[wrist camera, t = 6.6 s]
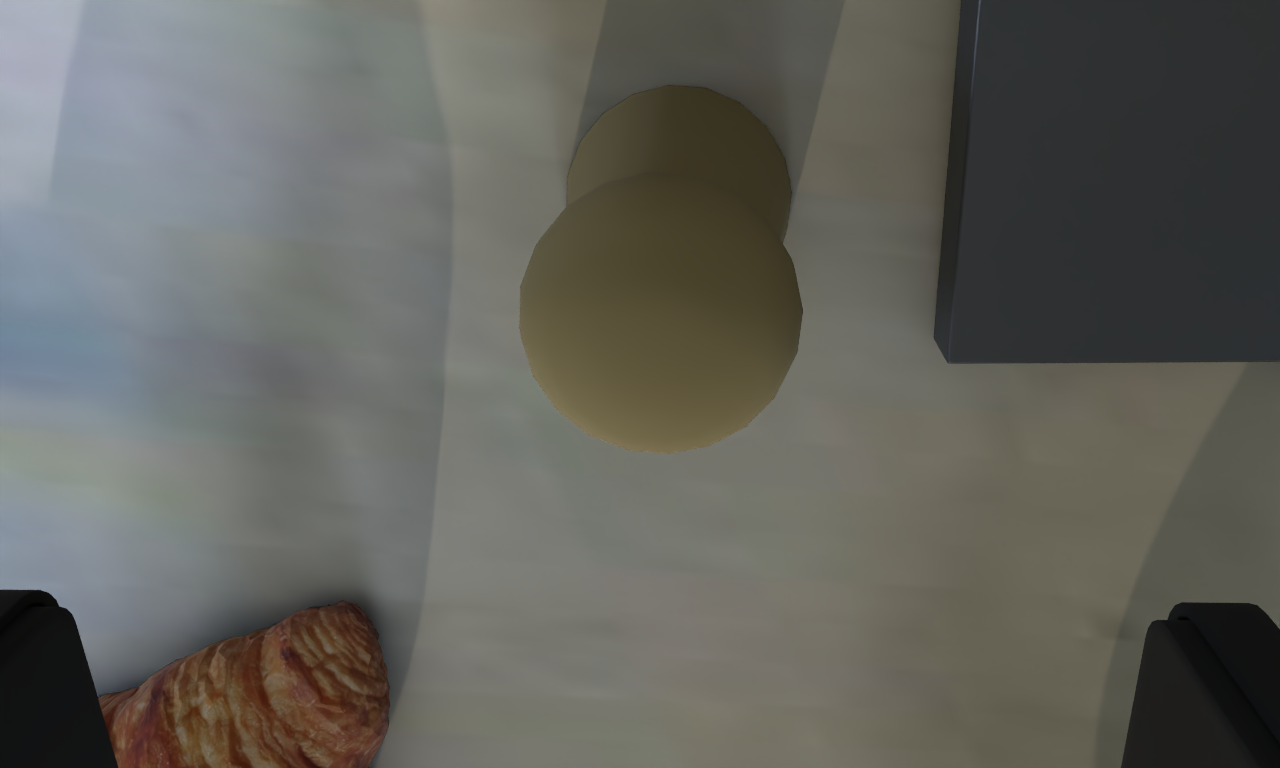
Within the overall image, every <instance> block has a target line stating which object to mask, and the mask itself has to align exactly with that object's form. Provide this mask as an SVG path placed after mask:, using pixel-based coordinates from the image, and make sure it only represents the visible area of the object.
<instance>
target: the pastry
mask: <svg viewBox="0 0 1280 768" xmlns="http://www.w3.org/2000/svg"><path fill="white" fill-rule="evenodd" d="M389 689H390V686H389V683H388V680H387V667H386V665H385V663H384V660H383V655H382V651H381V647H380V645H379V642H378V633H377V631H376V629H374V628H373V625H372V622H371V621H370V620H369V618H368V617H367V615H366V614H365V612H363V611H362V610H361V609H360V608H359V607H358V605H357V604H354V603H350V602H346V601H340V602H338V603H336V604H334V605H332V606H330V605H328V606H319V607H310V608H308V609H305V610H300V611H297V612H295V613H294V614H292V615H290V616H288V617H287V618H285V619H284V620H282V621H281V622H280V623H278V624H274V625H273V626H272V627H268V628H264V629H260V630H256V631H254V632H252V633H250V634H248V635H246V636H244V637H231V638H230V639H228V640H222V641H219V642H217V643H214V644H211V645H209V646H208V647H206V648H204V649H202V650H200V651H198V652H196V653H194V654H192V655H189V656H186V657H184V658H182V659H178V660H175V661H174V662H172V663H170V664H169V665H167V666H165V667H164V668H162V669H160V670H159V671H157V672H156V673H154V674H153V675H152V676H150V677H149V678H148V679H147V680H146V681H145V682H144V683H143V684H142V685H141V686H139V687H136V688H132V689H128V690H125V691H123V692H117V693H112V694H106V695H104V696H102V697H100V698H98V700H99V703H100V707H101V710H102V713H103V717H104V720H105V724H106V727H107V730H108V734H109V737H110V741H111V744H112V747H113V751H114V754H115V758H116V761H117V764H118V768H369V764H370V762H371V760H372V759H373V757H374V755H375V753H376V751H377V750H378V748H379V747H380V745H381V743H382V741H383V739H384V737H385V735H386V732H387V730H388V726H389V719H388V713H389V707H390V702H389Z"/></svg>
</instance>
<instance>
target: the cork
mask: <svg viewBox="0 0 1280 768" xmlns="http://www.w3.org/2000/svg"><path fill="white" fill-rule="evenodd" d="M791 195H792V192H791V187H790V182H789V177H788V172H787V167H786V162H785V158H784V156H783V154H782V153H781V151H780V149H779V147H778V146H777V144H776V142H775V140H774V139H773V137H772V135H771V133H770V131H769V130H768V128H767V127H766V126H765V125H764V124H763V123H762V122H761V121H760V120H759V119H757V118H756V117H755V116H754V115H753V114H752V113H751V112H750V111H748V110H747V109H746V108H745V107H744V106H743V105H742V104H741V103H739V102H737V101H735V100H732V99H730V98H728V97H725V96H723V95H721V94H718V93H716V92H714V91H711V90H709V89H707V88H698V87H685V86H672V85H668V86H664V87H660V88H656V89H652V90H648V91H644V92H640V93H636V94H633V95H631V96H630V97H628V98H627V99H625V100H623V101H622V102H620V103H619V104H617V105H616V106H614V107H613V108H611V109H609V110H608V111H606V112H605V113H603V114H602V115H601V117H600V118H599V119H598V120H597V121H596V123H595V124H594V125H593V126H592V128H591V129H590V130H589V131H588V133H587V134H586V135H585V136H584V138H583V139H582V140H581V141H580V143H579V146H578V149H577V152H576V154H575V157H574V160H573V162H572V165H571V168H570V170H569V173H568V181H567V207H566V208H565V209H564V211H563V212H562V213H561V214H560V215H559V217H558V218H557V219H556V220H555V222H554V223H553V224H552V225H551V226H550V228H549V229H548V230H547V231H546V232H545V234H544V235H543V236H542V237H541V239H540V240H539V242H538V243H537V244H536V246H535V248H534V251H533V254H532V256H531V259H530V262H529V265H528V267H527V270H526V273H525V275H524V278H523V281H522V283H521V286H520V334H521V339H522V342H523V345H524V348H525V351H526V355H527V358H528V361H529V364H530V367H531V371H532V374H533V377H534V378H535V380H536V381H537V383H538V384H539V385H540V387H541V388H542V390H543V391H544V392H545V394H546V395H547V397H548V398H549V400H550V401H551V402H552V404H553V405H554V407H555V408H556V410H558V411H559V412H560V413H561V414H563V415H564V416H565V417H567V418H568V419H569V420H570V421H572V422H573V423H574V424H576V425H577V426H578V427H579V428H581V429H582V430H583V431H585V432H586V433H587V434H588V435H590V436H593V437H595V438H598V439H601V440H603V441H606V442H608V443H611V444H613V445H616V446H619V447H621V448H624V449H626V450H633V451H644V452H654V453H665V454H670V453H675V452H681V451H686V450H691V449H696V448H701V447H706V446H710V445H712V444H714V443H716V442H718V441H720V440H721V439H723V438H725V437H727V436H729V435H731V434H733V433H735V432H737V431H739V430H741V429H742V428H744V427H746V426H747V425H748V424H749V423H750V422H751V421H752V420H753V419H754V418H755V417H756V416H757V415H758V414H759V413H760V412H761V411H762V410H763V409H764V408H765V407H766V406H767V405H768V404H769V403H770V402H771V401H772V400H773V399H774V397H775V395H776V394H777V392H778V390H779V388H780V386H781V384H782V382H783V380H784V378H785V376H786V374H787V372H788V370H789V368H790V366H791V364H792V362H793V360H794V358H795V356H796V354H797V351H798V343H799V336H800V329H801V322H802V314H803V308H802V303H801V298H800V293H799V288H798V283H797V278H796V273H795V268H794V265H793V262H792V259H791V257H790V255H789V254H788V252H787V250H786V249H785V247H784V245H783V241H784V238H785V234H786V231H787V226H788V218H789V210H790V203H791Z"/></svg>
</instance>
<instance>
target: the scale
mask: <svg viewBox="0 0 1280 768" xmlns="http://www.w3.org/2000/svg"><path fill="white" fill-rule="evenodd" d="M934 339H935V341H936V343H937V345H938V347H939V349H940V350H941V352H942V354H943V356H944V358H945V359H946V361H947V363H949V364H975V363H1135V362H1280V0H961V10H960V22H959V34H958V47H957V59H956V71H955V83H954V96H953V108H952V120H951V132H950V145H949V157H948V169H947V181H946V194H945V206H944V218H943V230H942V243H941V255H940V267H939V280H938V292H937V304H936V316H935V329H934Z"/></svg>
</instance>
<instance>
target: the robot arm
mask: <svg viewBox="0 0 1280 768" xmlns="http://www.w3.org/2000/svg"><path fill="white" fill-rule="evenodd" d="M0 768H118V764H117V761H116V758H115V754H114V751H113V747H112V744H111V741H110V737H109V734H108V730H107V727H106V724H105V720H104V717H103V713H102V710H101V707H100V703H99V700H98V696H97V693H96V690H95V686H94V683H93V679H92V676H91V673H90V669H89V666H88V662H87V659H86V656H85V652H84V649H83V646H82V642H81V639H80V635H79V632H78V629H77V625H76V622H75V620H74V617H73V615H72V614H71V613H70V612H69V611H68V610H67V609H66V608H62V607H59V605H58V603H57V601H56V599H55V598H54V597H53V596H51V595H50V594H49V593H47V592H44V591H41V590H0ZM1121 768H1280V629H1279V628H1278V627H1277V626H1276V625H1275V623H1274V622H1273V621H1272V620H1271V618H1270V617H1269V616H1268V615H1267V614H1266V613H1265V612H1264V611H1263V610H1262V609H1261V608H1260V607H1259V606H1257V605H1254V604H1250V603H1185V602H1182V603H1179V604H1177V605H1175V606H1174V608H1173V609H1172V610H1171V612H1170V614H1169V617H1168V620H1156V621H1153V622H1152V623H1151V625H1150V626H1149V628H1148V631H1147V634H1146V638H1145V644H1144V649H1143V654H1142V660H1141V665H1140V670H1139V676H1138V681H1137V686H1136V691H1135V697H1134V702H1133V707H1132V713H1131V718H1130V723H1129V729H1128V734H1127V739H1126V745H1125V750H1124V755H1123V761H1122V766H1121Z"/></svg>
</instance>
